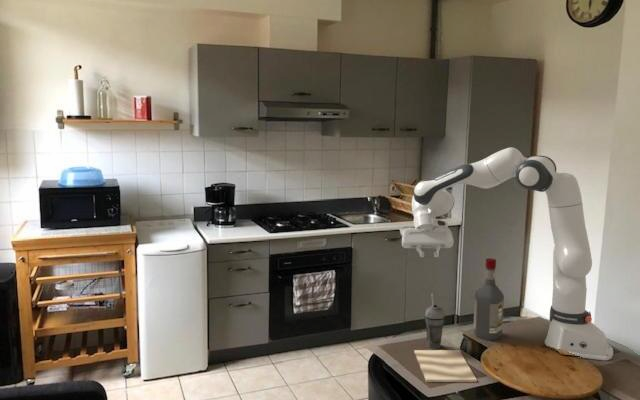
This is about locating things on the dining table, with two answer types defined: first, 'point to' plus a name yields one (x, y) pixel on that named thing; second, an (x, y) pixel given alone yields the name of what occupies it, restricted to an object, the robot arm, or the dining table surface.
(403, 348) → the dining table surface
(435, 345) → the beverage cup
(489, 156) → the robot arm
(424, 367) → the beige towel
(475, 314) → the liquor
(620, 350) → the dining table surface
